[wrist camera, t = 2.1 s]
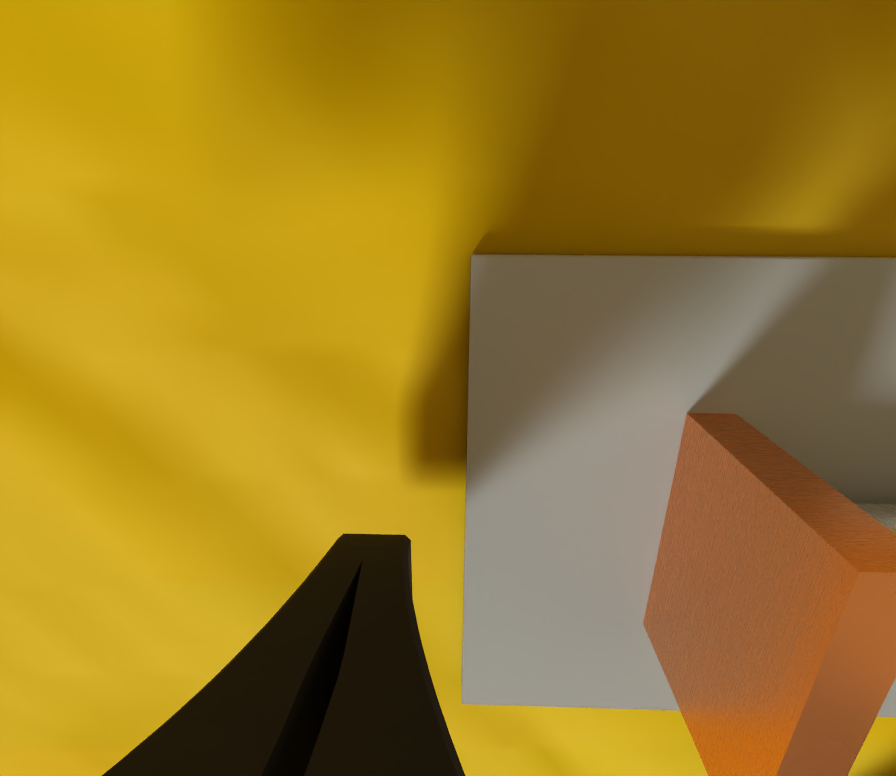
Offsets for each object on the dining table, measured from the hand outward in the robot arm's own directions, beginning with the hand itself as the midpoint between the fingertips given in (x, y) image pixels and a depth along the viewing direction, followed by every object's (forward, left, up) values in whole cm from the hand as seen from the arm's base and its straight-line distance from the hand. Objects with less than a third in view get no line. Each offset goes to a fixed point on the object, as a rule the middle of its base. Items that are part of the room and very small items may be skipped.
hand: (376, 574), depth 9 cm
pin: (-7, -8, -2) cm, 11 cm away
